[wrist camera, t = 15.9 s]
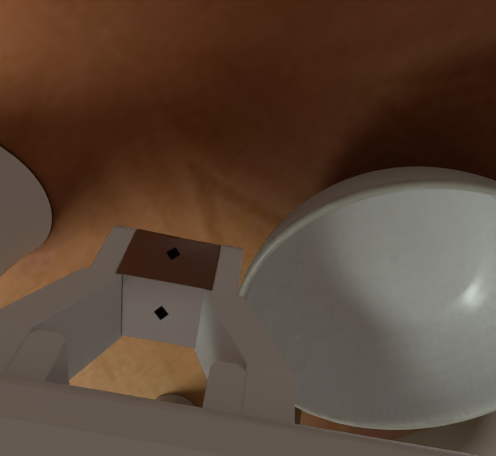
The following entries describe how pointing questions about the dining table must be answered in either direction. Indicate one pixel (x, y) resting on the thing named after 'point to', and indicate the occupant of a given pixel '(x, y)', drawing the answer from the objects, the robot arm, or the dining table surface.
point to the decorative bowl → (386, 298)
